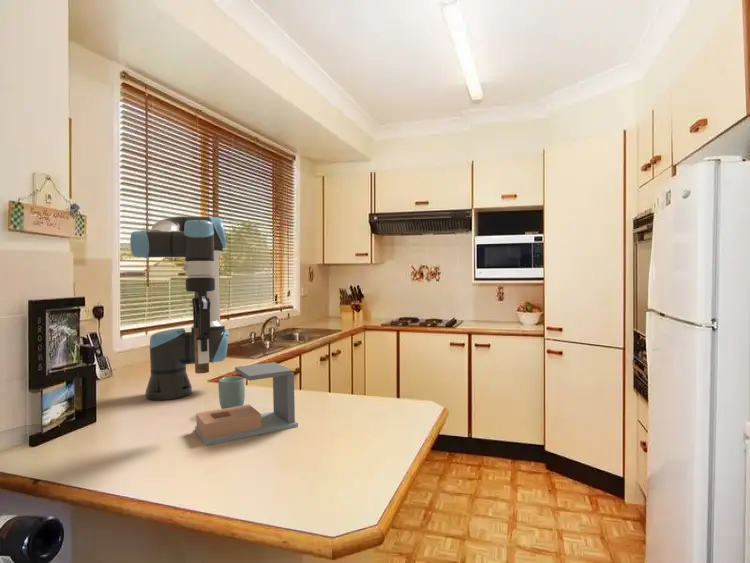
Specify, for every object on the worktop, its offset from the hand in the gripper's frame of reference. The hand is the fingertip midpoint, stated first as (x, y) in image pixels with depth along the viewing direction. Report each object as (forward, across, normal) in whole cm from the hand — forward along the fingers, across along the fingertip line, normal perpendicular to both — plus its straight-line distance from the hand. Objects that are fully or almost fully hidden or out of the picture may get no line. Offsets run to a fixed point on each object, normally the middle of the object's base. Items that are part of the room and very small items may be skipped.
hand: (202, 361), depth 128 cm
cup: (+19, -16, +11) cm, 28 cm away
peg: (+3, 0, 0) cm, 3 cm away
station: (+19, +3, +11) cm, 23 cm away
